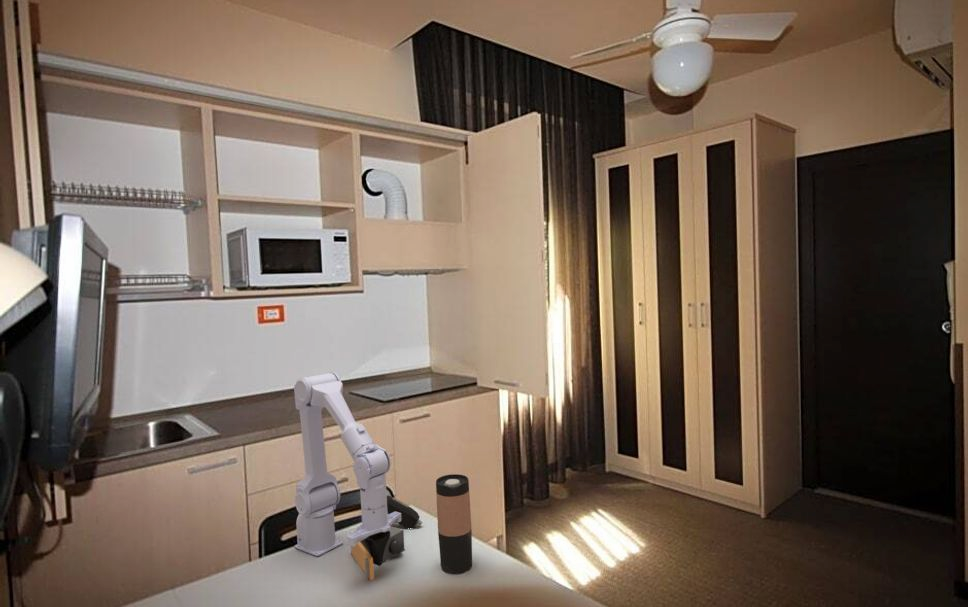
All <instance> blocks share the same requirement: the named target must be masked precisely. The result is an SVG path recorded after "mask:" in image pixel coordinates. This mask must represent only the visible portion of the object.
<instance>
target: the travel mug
mask: <svg viewBox="0 0 968 607" xmlns="http://www.w3.org/2000/svg"><path fill="white" fill-rule="evenodd" d="M469 481H470V480H469V478H468V476H466V475H463V474H459V473H458V474H457V473H455V474H454V473H451V474H445V475H442V476H440V477H438V478H437V479H436V480H435V489H436V490H435V495H436V512H437V514H436V516H437V517H436V518H437V534H438V535H437V536H438V544H439V546H438V547H439V557H440V559H439V560H440V568H441V570H442V572H444V573H445V574H448V575H461V574H464V573H467V572H468V571H471V569H472V567H473V539H472V538H473V537H472V531H473V530H472V512H471V511H472V510H471V500H470V498H471V495H470V483H469Z"/></svg>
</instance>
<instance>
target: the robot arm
mask: <svg viewBox="0 0 968 607" xmlns="http://www.w3.org/2000/svg"><path fill="white" fill-rule="evenodd" d="M339 376H340V375H338V373H336V372H335V371H334V372H333V371H331V372H329V373H323V374H317V375H312V376H305V377H304V376H303V377H299V378H298V379H297V380H296V382H295V384H294V386H293V389H294V390H293V391H294V403H295V404H294V405H295V409H296V410H298V411H299V419H300V428H301V440H302V450H303V457H304V458H303V459H304V461H303V462H304V469H305V470H304V471H305V472H304V473H305V475H304V476H303V477H302V478H301V479H300V480H299V481H298V482H297V484H296V485H295V498H294V505H295V508H296V510H297V512H298V516H297V518H296V523H295V524H296V538H297V540H296V541H297V544H295V545H294V548H295V549H296V550H297V549H298V550H300V551H303V552H305V553H308V554H310V555H312V556H314V557H320V556H322V555H324V554H326V553H327V552H329V551H332V550H333V549H335V548H337V547H340V546H341V545H343V544H344V542H343V540H340V539H338V538H336V528H335V512H334V510H336V509H337V505H338V504H339V502H340V499H341V490H340V488H339V486H338V480H337V476H336V475H334V474H332V473H330V472H328V466H327V457H326V447H325V435H324V426H323V417H322V416H323V415H322V410H323V409H324V408H325V409H326V410H327V412H328V413H329V414H330V416H331V417H332V418H333V421H335V423H336V424H337V425H338V427H339V428H340V429H341V436H340V440H341V442H342V443H343V445H344V446H345V448H346V449H347V452H348V453H349V454H350V457H351V458H352V460H353V461H354V463H353V465H352V469H353V473H354V475H355V477H356V484H357V487H358V488H359V491H360V492H359V493H360V496H359V497H360V508H361V514H360V515H361V524H360V525H359V526H358V527H357V528H356V529H355V530H354V531H352V532H350V533H351V534H350V533H349V534H348V535H346V540H347V541H346V542H347V546H350V547H351V546H353V547H354V546H356V545H357V543H358V542H360V541H362V540H363V541H364V542H365V544H366V545H367V547H368V549H369V551H370V554H371V556H372V558H373V565H376V566H378V567H380V566H382V564H383V562H382V560H383V554H384V550H385V547H386V544H387V542H388V540H389V538H390V531H388V530H390V526H391V525H394V524H396V522H401V513H399V512H393V513H390V514H388V512H387V495H388V494H387V479H386V473H388V472H389V471H390V469H391V458H390V455H389V453H388V452H387V450H386V449H385V448H384V447H380V446H379V444H375V442H374V440H373V439H372V437H371V436H370V434H369V432H368V430H367V429H366V427H365V426H364V425H363V424H362V423H361V422H360V423H358V422H356V420H355V418H354V416H353V413H352V412H351V409H350V408H349V405H348V404H347V402H346V400H345V398H344V396H343V391H344V385H343V384H344V383H343V382H342V381H341V380H342V379H341V378H340V377H339Z"/></svg>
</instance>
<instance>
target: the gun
mask: <svg viewBox="0 0 968 607" xmlns="http://www.w3.org/2000/svg"><path fill="white" fill-rule="evenodd" d="M387 512H388V514H390V513H393V512H399V513H401V522H396V523H397V524H398V525H400V526H402V527H403V528H405V529H407V528H409V529H408V530H411V529H410V528H414V527H415V528H416V527H417V526H421V525H422V523H423V521H422V520H421V519H420V518H421V517H420V515H419V513H418V512H417V511H416V510H415V509H413V508H412V507H411V506H410V505H409V504H406V503H405V502H403V501H402V500H399V499H398V498H396V497H393V496H392V495H391V496H390V495H388V494H387ZM396 523H395V524H396ZM415 528H414V529H415Z"/></svg>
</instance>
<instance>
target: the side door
mask: <svg viewBox="0 0 968 607" xmlns="http://www.w3.org/2000/svg"><path fill="white" fill-rule="evenodd" d="M351 533H352V532H349V535H350V534H351ZM350 554H351V555H352V556H353V557H354V559H355V561H356V562H357V563H358V565H359V566H360V568H361V569H362V571H363V572H364V573H365V578H366V579H369V581H373V580H375V574H374V572H375V571H374V564H373V558H372V556H371V555H370V554H369V552H368V551H367V550H366V549H365V547H364V546H363V545H362V543H361V542H358V543H357V545H356V546H354V547H353V546H350Z"/></svg>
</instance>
